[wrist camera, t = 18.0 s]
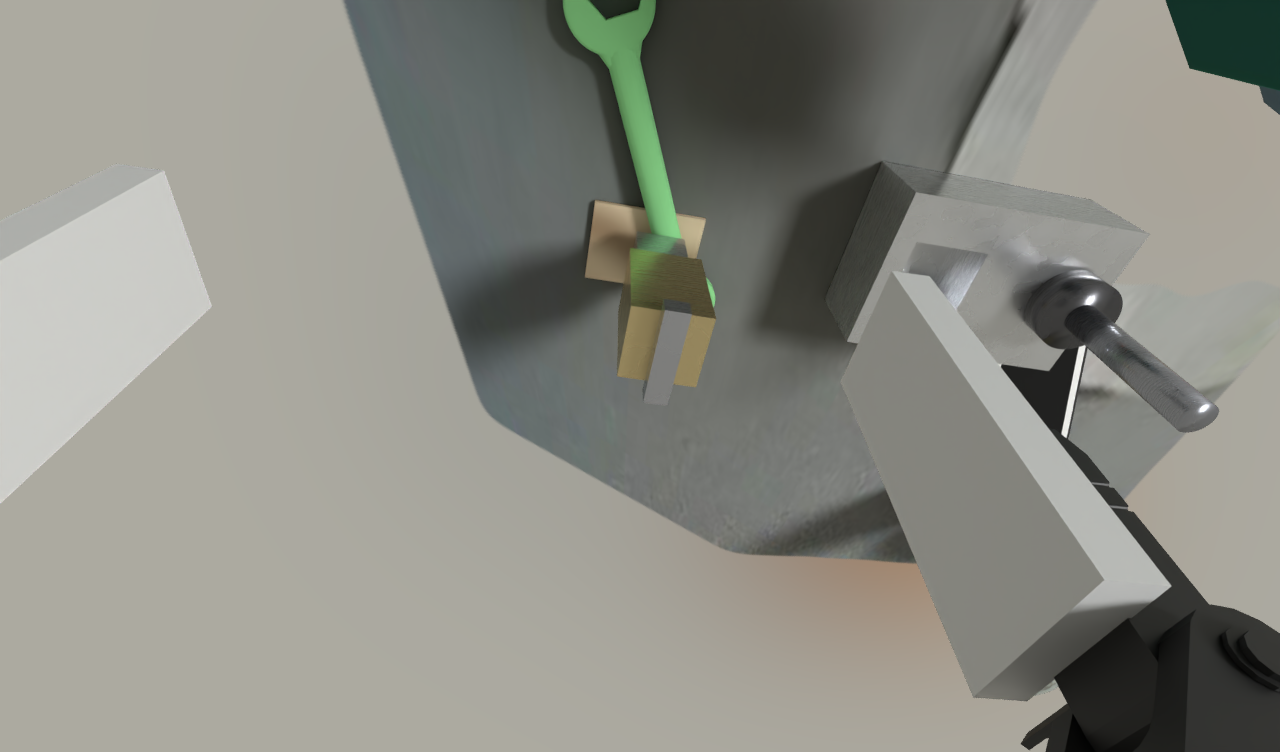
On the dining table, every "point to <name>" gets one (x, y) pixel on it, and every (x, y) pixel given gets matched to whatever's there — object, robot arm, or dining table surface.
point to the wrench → (631, 99)
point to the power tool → (1232, 40)
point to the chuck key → (663, 317)
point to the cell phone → (1052, 388)
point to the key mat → (628, 238)
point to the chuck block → (1009, 274)
